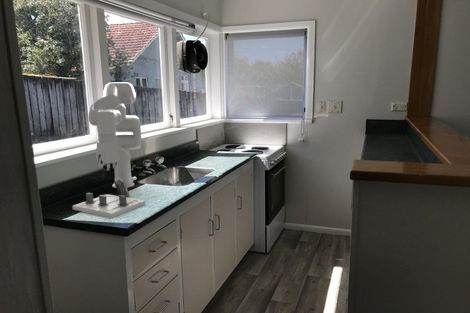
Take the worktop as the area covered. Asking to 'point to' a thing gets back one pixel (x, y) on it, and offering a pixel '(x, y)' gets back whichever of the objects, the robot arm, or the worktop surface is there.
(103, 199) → the breaker
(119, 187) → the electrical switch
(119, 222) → the worktop surface
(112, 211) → the white base plate
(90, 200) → the breaker
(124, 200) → the cylinder
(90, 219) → the worktop surface
